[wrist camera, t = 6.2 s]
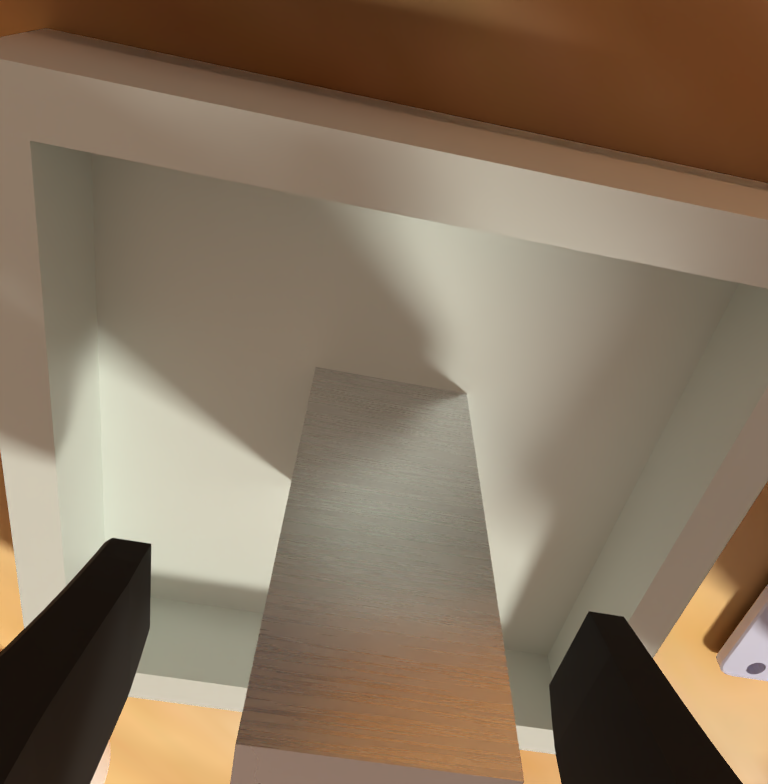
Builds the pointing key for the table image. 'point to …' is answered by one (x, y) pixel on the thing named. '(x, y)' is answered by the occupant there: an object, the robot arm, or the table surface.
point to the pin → (381, 603)
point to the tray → (360, 344)
